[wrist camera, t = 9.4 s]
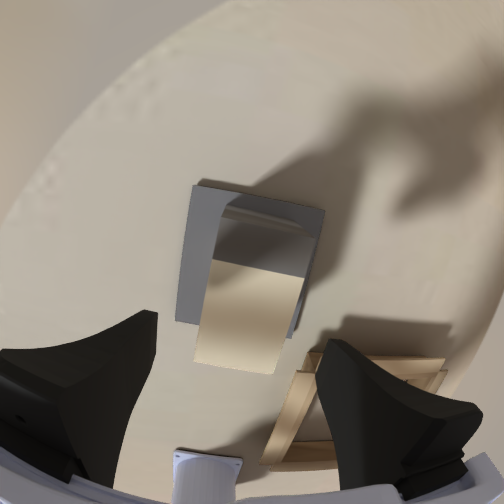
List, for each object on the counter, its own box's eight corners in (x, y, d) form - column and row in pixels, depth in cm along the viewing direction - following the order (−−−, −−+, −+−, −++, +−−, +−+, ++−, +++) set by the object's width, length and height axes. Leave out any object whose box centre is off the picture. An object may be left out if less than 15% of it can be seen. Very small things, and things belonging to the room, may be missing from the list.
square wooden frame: (378, 445, 27) (385, 461, 24) (254, 450, 26) (256, 470, 23) (439, 343, 23) (455, 358, 20) (295, 335, 22) (302, 356, 19)
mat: (290, 335, 22) (291, 338, 21) (176, 317, 21) (174, 320, 20) (323, 210, 19) (325, 211, 19) (194, 184, 19) (192, 185, 18)
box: (263, 324, 21) (272, 374, 15) (204, 312, 20) (193, 361, 15) (292, 219, 19) (316, 238, 13) (226, 204, 18) (221, 217, 13)
